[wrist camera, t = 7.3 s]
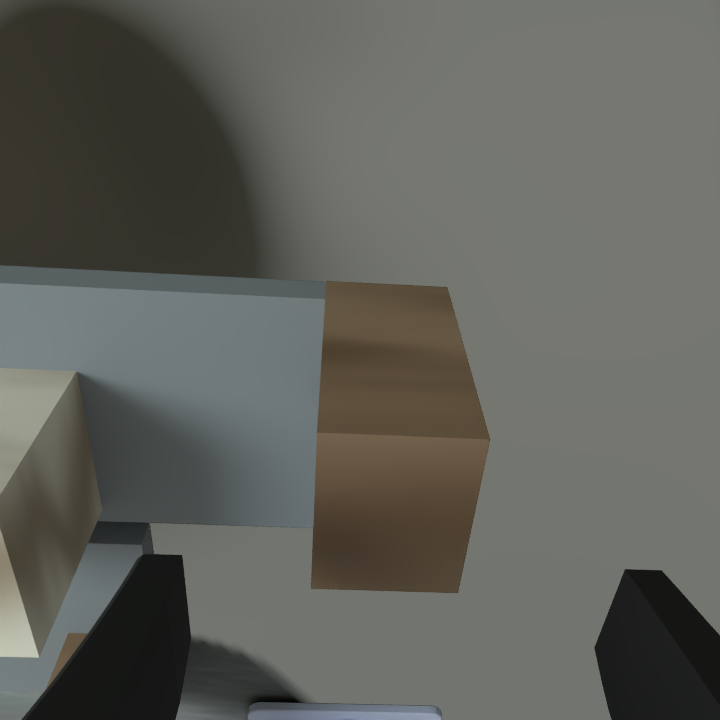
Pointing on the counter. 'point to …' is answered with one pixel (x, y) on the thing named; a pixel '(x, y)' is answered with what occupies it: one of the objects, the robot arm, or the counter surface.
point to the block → (41, 501)
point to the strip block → (270, 409)
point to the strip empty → (81, 602)
